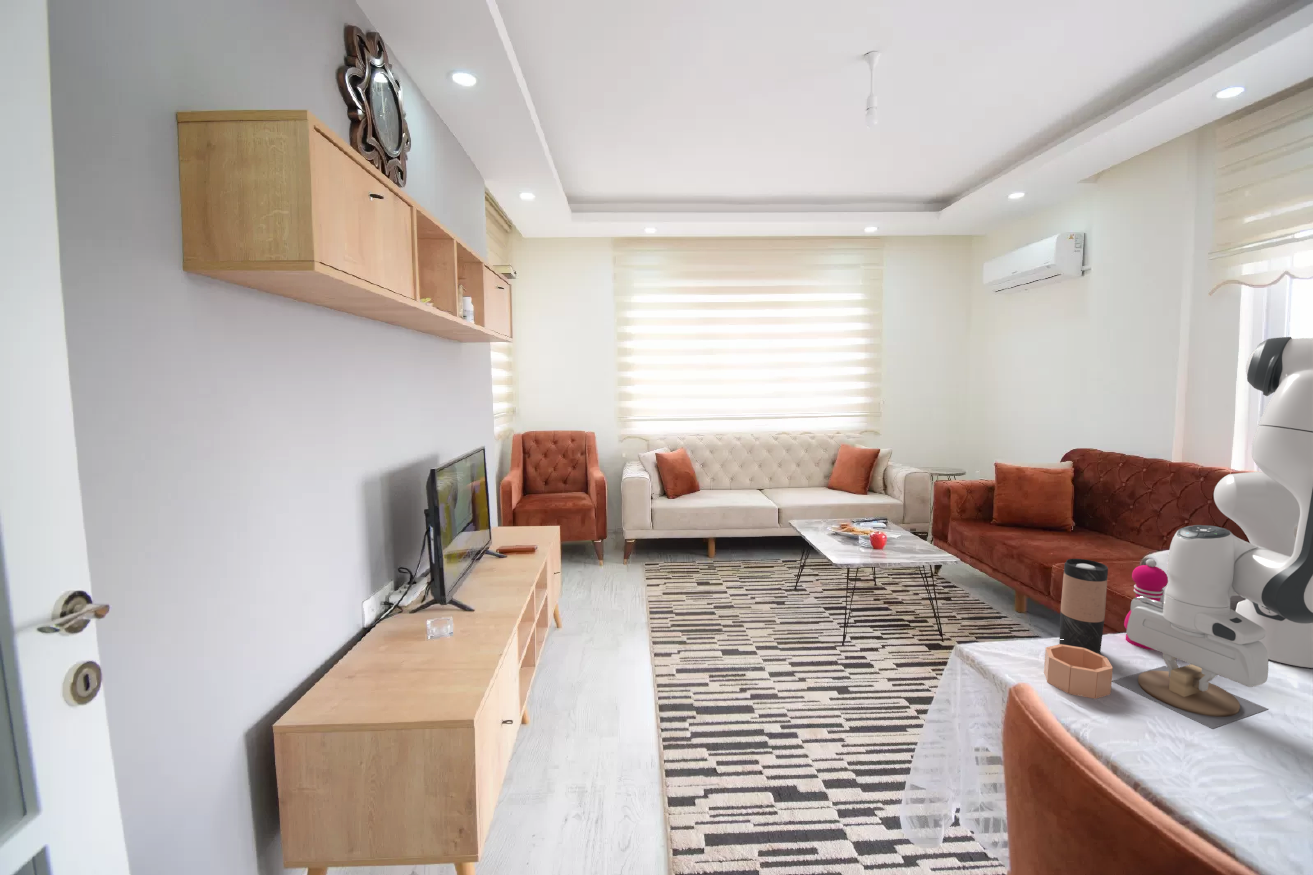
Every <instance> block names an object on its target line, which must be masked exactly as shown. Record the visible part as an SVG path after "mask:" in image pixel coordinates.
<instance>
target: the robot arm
mask: <svg viewBox="0 0 1313 875" xmlns="http://www.w3.org/2000/svg"><path fill="white" fill-rule="evenodd" d="M1245 373H1246V379H1247V380H1246V381H1247V382H1248V383H1249V385H1251V386H1252V387H1253V388H1254V389H1256V390H1257V391H1260V392H1262V395H1264V397H1265V396H1266V397H1268V396H1270V395H1272V396H1271V397H1270V399H1269V401H1268V403H1267V405H1266V406H1265V409H1264V411H1263V413H1262V415H1261V418H1260V420H1259V423H1258V426H1257V429H1256V431H1255V434H1254V437H1253V440H1252V443H1251V457H1252V459H1253V461H1254V463H1255V465H1256V466H1257V467H1258V468H1259V470H1260V471H1250V472H1239V473H1229V474H1227V475H1225V476H1224V477H1222V478H1221V479H1220V480H1219V481H1218V482H1217V484H1216V485H1215V486H1214V489H1213V490H1214V491H1213V500H1214V503H1215V505H1216V507H1217V509H1218V510H1219V511H1220V513H1222V514H1223V515H1224V516H1225V517H1227V518H1228V519H1230V520H1232V521H1233V522H1234V523H1236V525H1237V526H1239V528H1241V530H1242V531H1243V533H1244V534H1245V535H1246V537H1247V539H1248V541H1249V542H1248V541H1245V539H1241V538H1239V537H1237V536H1236V535H1234V534H1233V533H1232V531H1230V530H1229V529H1227V528H1224V527H1219V526H1215V525H1207V524H1206V525H1202V524H1194V525H1187V526H1185V527H1182V528H1179V529H1178V530H1176V532H1175V533H1174V536H1173V537H1172V540H1171V542H1170V545H1169V551H1168V554H1167V556H1168V557H1167V564H1166V574H1167V577H1168V583H1167V585H1166V586H1165V588H1164V593H1163V595H1164V596H1163V602H1162V601H1161V600H1160V601H1156V600H1152V599H1149V598H1147V597H1144V596H1140V597H1136V596H1135V597H1134V598H1133V599H1132V600H1131V602H1130V610H1131V614H1130V617H1129V621H1128V625H1127V630H1126V629H1125V630H1126V632H1125V633H1126V634H1127V635H1128V637H1129V639H1130V640H1132V641H1135V642H1137V643H1140V644H1142V645H1145V646H1147V647H1150V648H1152V649H1155V650H1154V651H1157V652H1160V653H1162V659H1163V661H1164V663H1165V666H1167V667H1168V668H1169V675H1168V676H1169V677H1170V675H1171V670H1173V669H1176V668H1180V667H1179V665H1178V662H1177V661H1176V660H1180V661H1182V662H1185V663H1187V664H1189V665H1190V664H1192V665H1195V666H1197V667H1200V668H1202V671H1201V673H1202V674H1204V675H1205V676H1204V677H1202V678H1200V677H1198V678H1195V679H1193V683H1194V684H1193V687H1194V688H1196V689H1198V690H1200V691H1206V690H1207V689H1208V684H1209V683H1210V682H1211V681H1212V680H1213V679H1214V678H1216V677H1217V676H1220V677H1223V678H1225V679H1228V680H1230V681H1233V682H1235V683H1237V684H1240V685H1242V686H1245V687H1248V688H1253V687H1254V688H1255V687H1258V686H1261V685H1264V684H1265V683H1266V682H1268V678H1269V660H1271V661H1273V662H1278V663H1282V664H1287V665H1291V666H1294V667H1295V666H1296V667H1301V668H1311V669H1313V337H1312V338H1310V337H1308V338H1304V337H1303V338H1292V337H1291V336H1286V337H1282V336H1281V337H1272V338H1271V337H1270V338H1268V339H1266V340H1264V341H1262V342H1260V343H1259V344H1257V347H1256V348H1255V349H1254V350H1253V351H1252V353H1251V354H1250V355H1249V357H1248V358H1247V360H1246V365H1245ZM1295 528H1297V531H1296V534H1295ZM1235 596H1236V597H1239V596H1240V597H1241V598H1243V599H1244V600H1241V601H1238V603H1237V604H1236V608H1235V610H1233V609H1232V608H1231V598H1232V597H1235ZM1138 599H1139V600H1138ZM1126 634H1125V635H1126Z"/></svg>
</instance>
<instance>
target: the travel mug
mask: <svg viewBox="0 0 1313 875" xmlns="http://www.w3.org/2000/svg"><path fill="white" fill-rule="evenodd" d="M1108 573H1109V567H1108V566H1107V565H1105V564H1103V563H1101V562H1099V561H1096V560H1092V559H1091V560H1090V559H1086V558H1084V559H1083V558H1068V559H1066V562H1064V567H1063V578H1062V589H1061V590H1062V591H1061V601H1060V614H1059V615H1060V617H1059V644H1063V645H1069V646H1075V647H1081V648H1086V649H1088V650H1090V651H1093V652H1095V653H1097V654H1100V655H1101V649H1102V641H1103V635H1104V634H1103V633H1104V626H1105V618H1106V617H1105V615H1106V602H1107V590H1108V575H1109V574H1108ZM1060 639H1064V640H1060Z"/></svg>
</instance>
